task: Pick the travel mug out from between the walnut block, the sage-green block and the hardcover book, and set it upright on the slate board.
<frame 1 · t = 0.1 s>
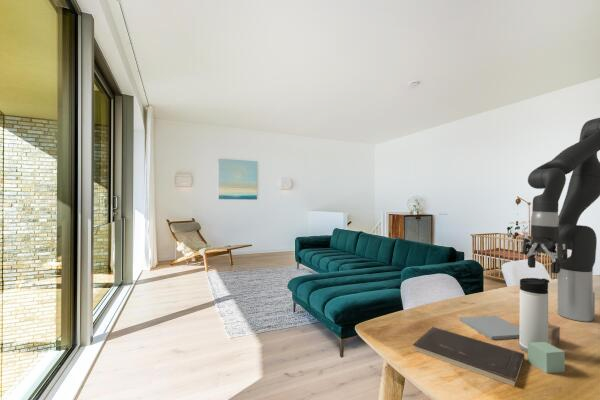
hand: (542, 270, 102), 17 cm above the table, tool pointing down, fingers open, 8 cm apart
sage block: (545, 366, 73), on the table
hardcover book: (467, 357, 78), on the table
walnut block: (545, 342, 86), on the table
travel mug: (534, 350, 80), on the table
slate board: (493, 328, 94), on the table
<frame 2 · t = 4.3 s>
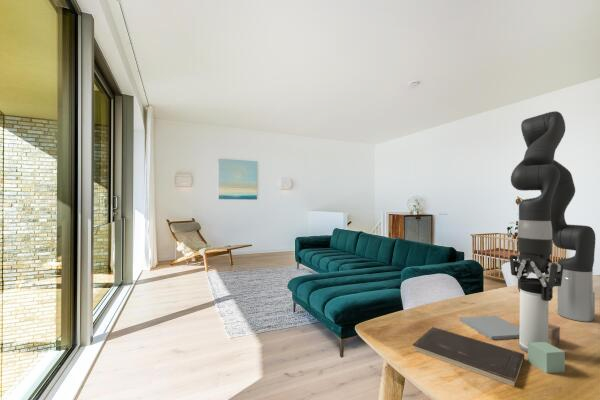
hand: (534, 296, 81), 15 cm above the table, tool pointing down, fingers closed on travel mug, 6 cm apart
travel mug: (534, 350, 80), on the table, touching gripper
everything else where it was.
when the fingers open (17 cm above the table, at t = 11.5 s): travel mug stays where it is, resting on slate board.
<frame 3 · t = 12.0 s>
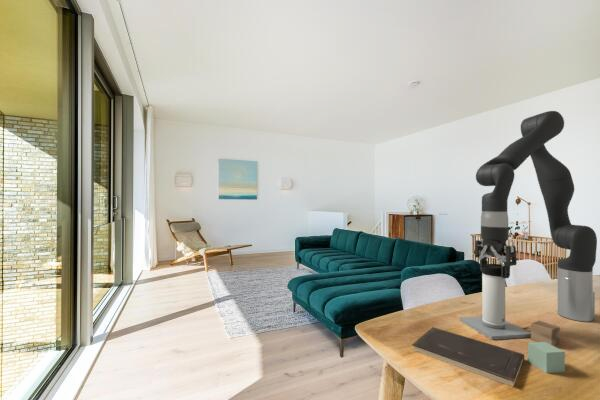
hand: (494, 274, 94), 18 cm above the table, tool pointing down, fingers open, 8 cm apart
travel mug: (494, 325, 94), point 1 cm above the table, touching slate board
everything else where it was.
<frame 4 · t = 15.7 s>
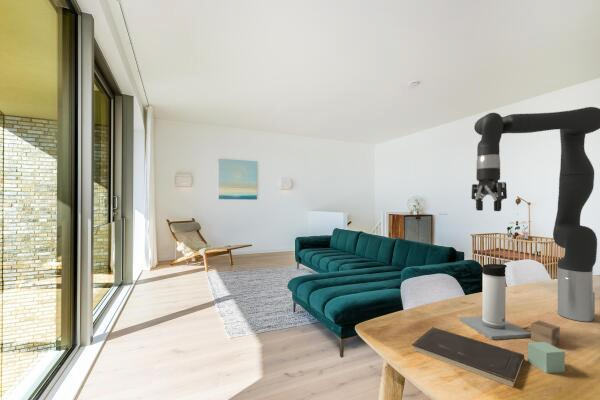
hand: (488, 210, 109), 38 cm above the table, tool pointing down, fingers open, 8 cm apart
nothing on the table moved.
at the end: travel mug inside the target area on the slate board (0.1 cm from its centre), point 0.8 cm above the slate board's base; travel mug tilted 0°; the gripper is holding nothing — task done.
